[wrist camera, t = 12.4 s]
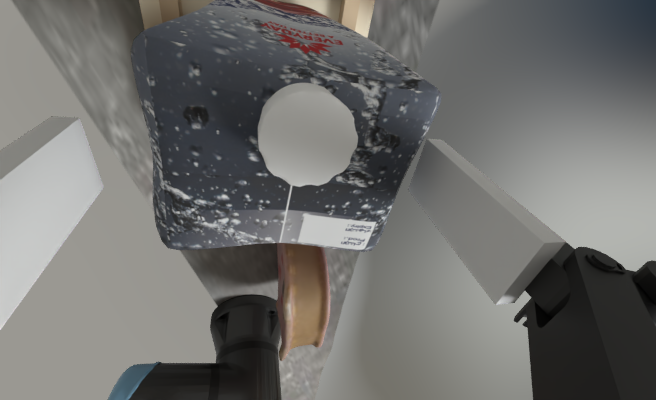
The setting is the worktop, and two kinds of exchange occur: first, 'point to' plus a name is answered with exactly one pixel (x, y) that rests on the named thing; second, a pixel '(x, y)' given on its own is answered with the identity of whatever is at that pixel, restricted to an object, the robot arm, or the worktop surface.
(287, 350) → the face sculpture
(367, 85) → the juice carton
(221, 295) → the worktop surface
